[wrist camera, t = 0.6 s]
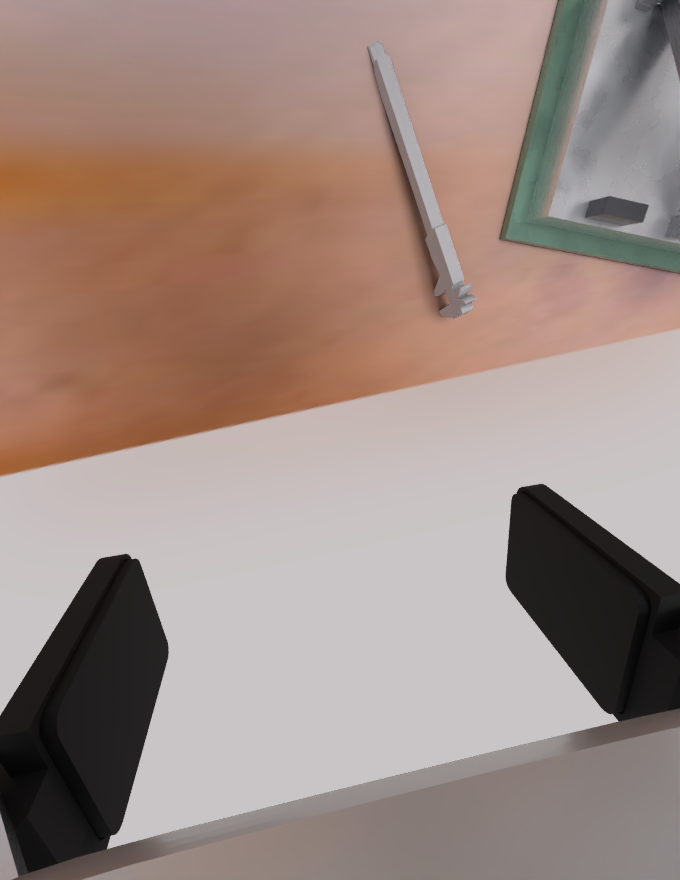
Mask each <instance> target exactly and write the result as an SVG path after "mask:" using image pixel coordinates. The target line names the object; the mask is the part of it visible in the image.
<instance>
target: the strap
mask: <svg viewBox="0 0 680 880" xmlns="http://www.w3.org/2000/svg"><path fill="white" fill-rule="evenodd" d="M658 4H660V6H661V10H662V14H663V18H664V22H665V25H666V29H667V33H668V37H669V41H670V45H671V49H672V52H673V56H674V60H675V64H676V68H677V72H678V76H679V80H680V0H663V1H661V2H660V3H658Z"/></svg>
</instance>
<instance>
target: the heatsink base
mask: <svg viewBox="0 0 680 880" xmlns="http://www.w3.org/2000/svg"><path fill="white" fill-rule="evenodd" d="M661 1H663V0H558V5H557V9H556V13H555V17H554V21H553V25H552V29H551V33H550V37H549V41H548V45H547V49H546V53H545V57H544V61H543V65H542V69H541V73H540V78H539V82H538V86H537V90H536V94H535V98H534V102H533V106H532V110H531V114H530V118H529V122H528V126H527V130H526V134H525V138H524V142H523V146H522V151H521V155H520V159H519V163H518V167H517V171H516V175H515V179H514V183H513V187H512V191H511V195H510V199H509V203H508V207H507V211H506V215H505V219H504V224H503V228H502V232H501V236H500V239H502V240H507V241H512V242H517V243H523V244H528V245H533V246H538V247H544V248H549V249H554V250H559V251H565V252H570V253H575V254H580V255H586V256H591V257H596V258H601V259H607V260H612V261H617V262H622V263H628V264H633V265H638V266H643V267H649V268H654V269H659V270H664V271H670V272H675V273H680V80H679V76H678V72H677V68H676V64H675V60H674V56H673V52H672V49H671V45H670V41H669V37H668V33H667V29H666V25H665V22H664V18H663V14H662V10H661V6H660V4H658V3H660V2H661Z"/></svg>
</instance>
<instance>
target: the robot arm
mask: <svg viewBox="0 0 680 880" xmlns="http://www.w3.org/2000/svg"><path fill="white" fill-rule="evenodd" d="M506 582H507V585H508V587H509V589H510V591H511V592H512V594H513V595H514V596H515V597H516V599H517V600H518V601H519V602H520V604H521V605H522V606H523V608H524V609H525V610H526V612H527V613H528V614H529V615H530V617H531V618H532V619H533V621H534V622H535V623H536V624H537V626H538V627H539V628H540V630H541V631H542V632H543V633H544V635H545V636H546V637H547V638H548V640H549V641H550V642H551V644H552V645H553V646H554V648H555V649H556V650H557V651H558V653H559V654H560V655H561V657H562V658H563V659H564V660H565V662H566V663H567V664H568V666H569V667H570V668H571V669H572V671H573V672H574V673H575V675H576V676H577V677H578V679H579V680H580V681H581V682H582V683H583V685H584V686H585V688H586V689H587V690H588V691H589V693H590V694H591V695H592V696H593V698H594V699H595V700H596V702H597V703H598V704H599V706H600V707H601V708H602V709H603V710H604V711H606V712H607V713H609V714H613V715H614V716H615V717H616V719H617V720H618V721H619V722H615V723H611V724H607V725H603V726H599V727H594V728H591V729H586V730H582V731H578V732H574V733H570V734H565V735H561V736H557V737H552V738H548V739H544V740H540V741H536V742H532V743H528V744H523V745H519V746H515V747H511V748H506V749H502V750H498V751H494V752H490V753H486V754H482V755H477V756H473V757H469V758H465V759H461V760H457V761H453V762H449V763H445V764H441V765H437V766H432V767H429V768H424V769H420V770H416V771H412V772H408V773H404V774H400V775H396V776H392V777H388V778H384V779H380V780H376V781H372V782H367V783H363V784H359V785H356V786H352V787H347V788H343V789H339V790H335V791H331V792H327V793H323V794H319V795H315V796H311V797H307V798H303V799H299V800H295V801H291V802H287V803H283V804H279V805H276V806H271V807H267V808H263V809H260V810H256V811H251V812H248V813H243V814H239V815H236V816H231V817H227V818H223V819H220V820H216V821H212V822H208V823H204V824H200V825H196V826H192V827H188V828H184V829H180V830H176V831H172V832H169V833H165V834H161V835H158V836H154V837H151V838H147V839H144V840H140V841H136V842H132V843H128V844H125V845H121V846H117V847H114V848H110V849H107V846H108V843H109V839H110V836H111V835H115V834H116V833H117V832H118V831H119V829H120V827H121V825H122V822H123V819H124V815H125V811H126V808H127V804H128V801H129V797H130V793H131V790H132V786H133V782H134V779H135V775H136V772H137V768H138V764H139V761H140V757H141V754H142V750H143V746H144V743H145V739H146V736H147V732H148V728H149V725H150V721H151V718H152V714H153V710H154V706H155V703H156V699H157V695H158V692H159V688H160V685H161V681H162V678H163V674H164V671H165V667H166V663H167V660H168V642H167V639H166V636H165V634H164V630H163V628H162V625H161V622H160V619H159V616H158V613H157V610H156V607H155V605H154V602H153V599H152V596H151V593H150V590H149V587H148V585H147V581H146V578H145V576H144V573H143V570H142V567H141V564H140V562H139V560H138V559H131V557H130V556H129V555H128V554H124V555H117V556H112V557H105V558H101V559H99V560H98V561H97V562H96V564H95V566H94V567H93V569H92V570H91V572H90V574H89V575H88V577H87V578H86V580H85V582H84V583H83V585H82V586H81V588H80V590H79V591H78V593H77V594H76V596H75V597H74V599H73V601H72V602H71V604H70V605H69V607H68V609H67V610H66V612H65V613H64V615H63V617H62V618H61V620H60V621H59V623H58V625H57V626H56V628H55V629H54V631H53V632H52V634H51V636H50V637H49V639H48V640H47V642H46V644H45V645H44V647H43V648H42V650H41V652H40V653H39V655H38V656H37V658H36V660H35V661H34V663H33V664H32V666H31V668H30V669H29V671H28V672H27V674H26V676H25V677H24V679H23V681H22V682H21V683H20V685H19V687H18V688H17V690H16V691H15V693H14V695H13V697H12V698H11V699H10V701H9V703H8V704H7V706H6V707H5V709H4V711H3V712H2V714H1V715H0V880H680V584H679V583H678V582H676V581H675V580H674V579H672V578H671V577H669V576H668V575H666V574H665V573H664V572H663V571H661V570H660V569H659V568H657V567H656V566H655V565H653V564H652V563H650V562H649V561H648V560H646V559H645V558H644V557H642V556H641V555H640V554H638V553H637V552H635V551H634V550H633V549H631V548H630V547H629V546H627V545H626V544H625V543H623V542H622V541H621V540H619V539H618V538H616V537H615V536H614V535H612V534H611V533H610V532H608V531H607V530H606V529H604V528H603V527H602V526H600V525H599V524H597V523H596V522H595V521H593V520H592V519H591V518H589V517H588V516H587V515H585V514H584V513H583V512H581V511H580V510H578V509H577V508H576V507H574V506H573V505H571V504H570V503H569V502H568V501H566V500H565V499H564V498H562V497H561V496H559V495H558V494H557V493H555V492H554V491H553V490H551V489H550V488H549V487H547V486H546V485H544V484H538V485H532V486H526V487H521V488H519V489H518V491H517V494H514V495H513V497H512V501H511V515H510V528H509V540H508V553H507V566H506Z"/></svg>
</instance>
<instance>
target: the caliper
mask: <svg viewBox="0 0 680 880" xmlns="http://www.w3.org/2000/svg"><path fill="white" fill-rule="evenodd" d="M368 51H369V54H370V57H371V60H372V63H373V66H374V73H375V77H376V80H377V84H378V88H379V91H380V95H381V98H382V101H383V104H384V107H385V110H386V113H387V116H388V119H389V122H390V125H391V128H392V131H393V134H394V137H395V140H396V143H397V146H398V148H399V151H400V154H401V157H402V160H403V163H404V166H405V169H406V172H407V175H408V178H409V181H410V184H411V187H412V190H413V193H414V196H415V199H416V202H417V205H418V208H419V211H420V214H421V217H422V220H423V223H424V226H425V229H426V232H427V235H428V236H427V237H426V239H425V241H426V244H427V246H428V248H429V251H430V255H431V258H432V260H433V263H434V265H435V267H436V268H437V270H438V273H439V276H440V277H439V279H438V282H437V285H436V287H435V290H434V294H435V297H437V296H439V295H442V294H444V293H446V292H447V295H448V298H449V301H450V303H451V304H449V305H448V306H446V307H445V308H443V309H442V310H440V311H439V312H440V314H441V315H442V316H444V317H449V318H456V317H459V316H461V315H463V314H465V313H467V312H469V311H471V310H472V309H473V306H472V301H474V300H476V299H477V298H476V297H475V296H473V295H467V294H468V293H469V292H470V290H471V286H472V283H469V284H467V285H464V284H463V281H464V276H463V273H462V270H461V267H460V264H459V261H458V258H457V255H456V252H455V249H454V246H453V243H452V240H451V237H450V234H449V231H448V227H447V224H444V223H443V220H442V216H441V213H440V210H439V207H438V204H437V201H436V198H435V195H434V192H433V189H432V185H431V182H430V179H429V176H428V173H427V170H426V167H425V164H424V161H423V158H422V154H421V151H420V148H419V145H418V142H417V139H416V136H415V133H414V130H413V127H412V124H411V120H410V117H409V114H408V111H407V108H406V105H405V102H404V99H403V96H402V93H401V90H400V87H399V83H398V80H397V77H396V74H395V71H394V68H393V65H392V62H391V59H390V56H389V54H387V55H386V53H385V50H384V47H383V44H382V43H381V41H378V42H376V43H373V44H371V45H369V46H368Z"/></svg>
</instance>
